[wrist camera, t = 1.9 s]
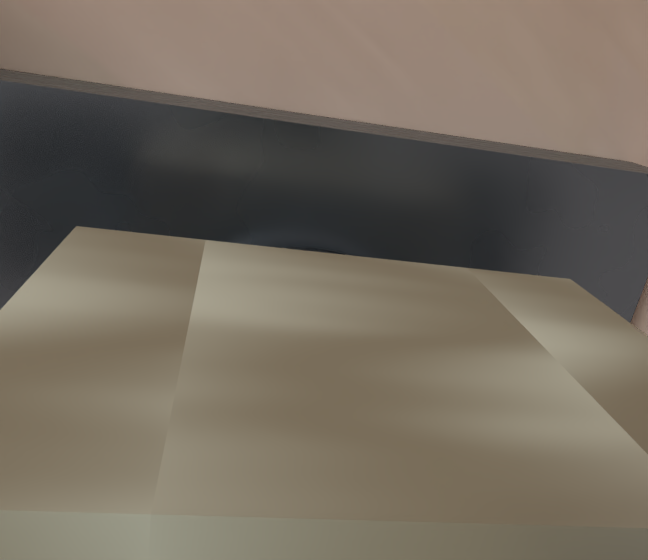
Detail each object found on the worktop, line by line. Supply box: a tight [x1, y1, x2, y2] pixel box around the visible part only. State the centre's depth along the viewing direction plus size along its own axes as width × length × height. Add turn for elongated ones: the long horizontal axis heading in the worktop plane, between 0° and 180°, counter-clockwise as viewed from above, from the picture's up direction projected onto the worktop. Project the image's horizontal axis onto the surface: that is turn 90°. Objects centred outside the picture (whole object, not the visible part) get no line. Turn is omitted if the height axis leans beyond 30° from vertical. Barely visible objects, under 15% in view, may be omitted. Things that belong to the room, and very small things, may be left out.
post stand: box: [0, 69, 648, 323], centre depth 8 cm, size 12×9×9 cm
